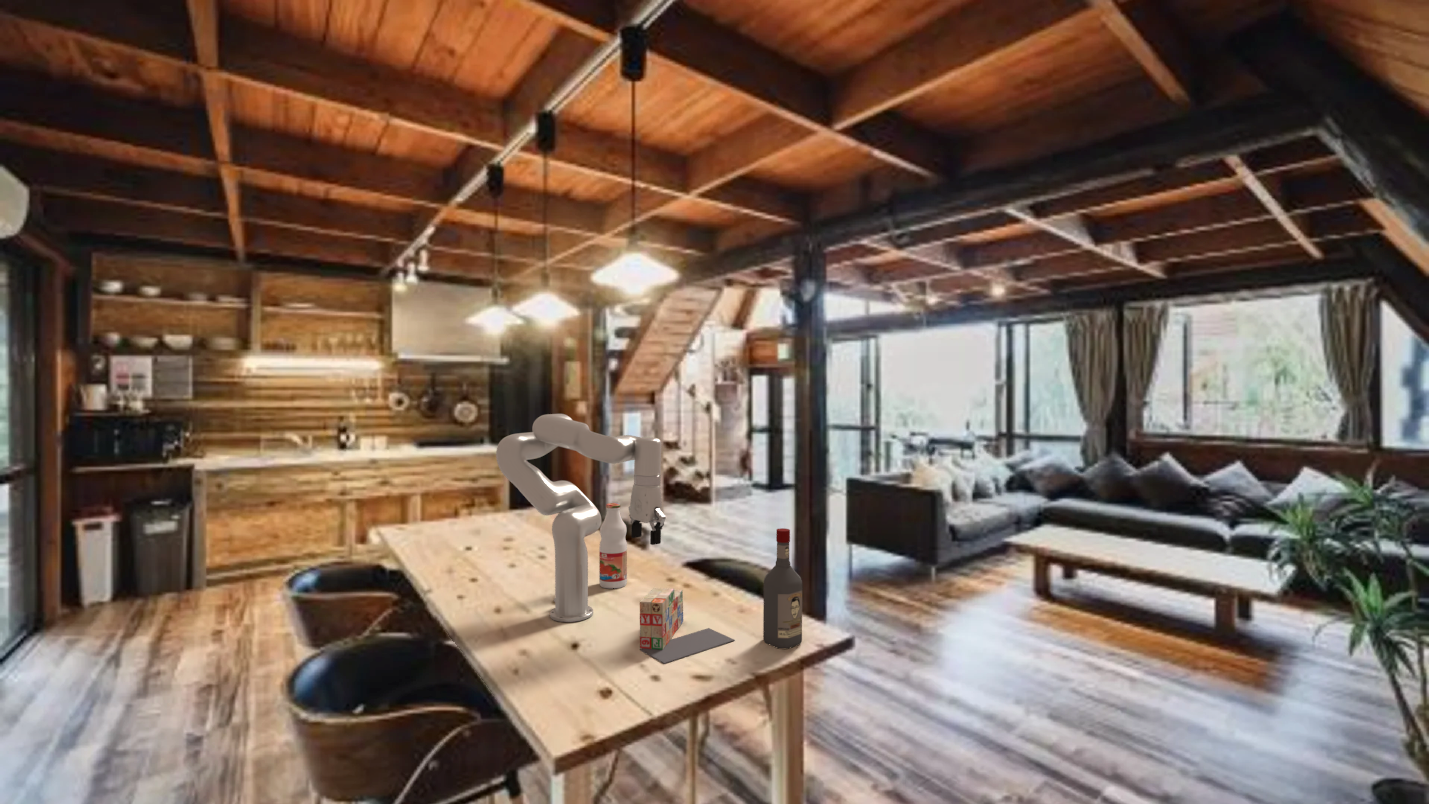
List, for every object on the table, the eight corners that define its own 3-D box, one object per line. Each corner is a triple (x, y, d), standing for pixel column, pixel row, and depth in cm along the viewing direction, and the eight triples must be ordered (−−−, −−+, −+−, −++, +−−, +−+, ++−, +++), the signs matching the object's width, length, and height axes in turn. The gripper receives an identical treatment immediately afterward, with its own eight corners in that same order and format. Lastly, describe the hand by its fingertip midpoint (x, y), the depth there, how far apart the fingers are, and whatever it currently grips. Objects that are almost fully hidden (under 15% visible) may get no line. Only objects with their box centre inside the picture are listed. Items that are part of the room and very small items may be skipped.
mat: (639, 650, 165) (639, 648, 165) (708, 629, 179) (708, 628, 179) (664, 664, 156) (664, 662, 156) (734, 640, 171) (734, 639, 171)
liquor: (758, 640, 171) (758, 529, 171) (782, 632, 177) (782, 524, 177) (782, 651, 164) (783, 535, 164) (806, 642, 170) (807, 530, 170)
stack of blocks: (662, 620, 186) (662, 578, 186) (683, 621, 185) (683, 579, 185) (639, 648, 165) (639, 600, 165) (663, 650, 164) (662, 602, 164)
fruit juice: (632, 584, 221) (632, 503, 220) (612, 591, 213) (612, 507, 213) (614, 579, 227) (614, 500, 226) (593, 585, 219) (593, 504, 219)
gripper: (619, 477, 186) (618, 536, 187) (653, 486, 173) (651, 548, 173) (641, 476, 191) (640, 533, 191) (675, 484, 178) (674, 545, 178)
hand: (645, 540), depth 182 cm, fingers open, 9 cm apart
